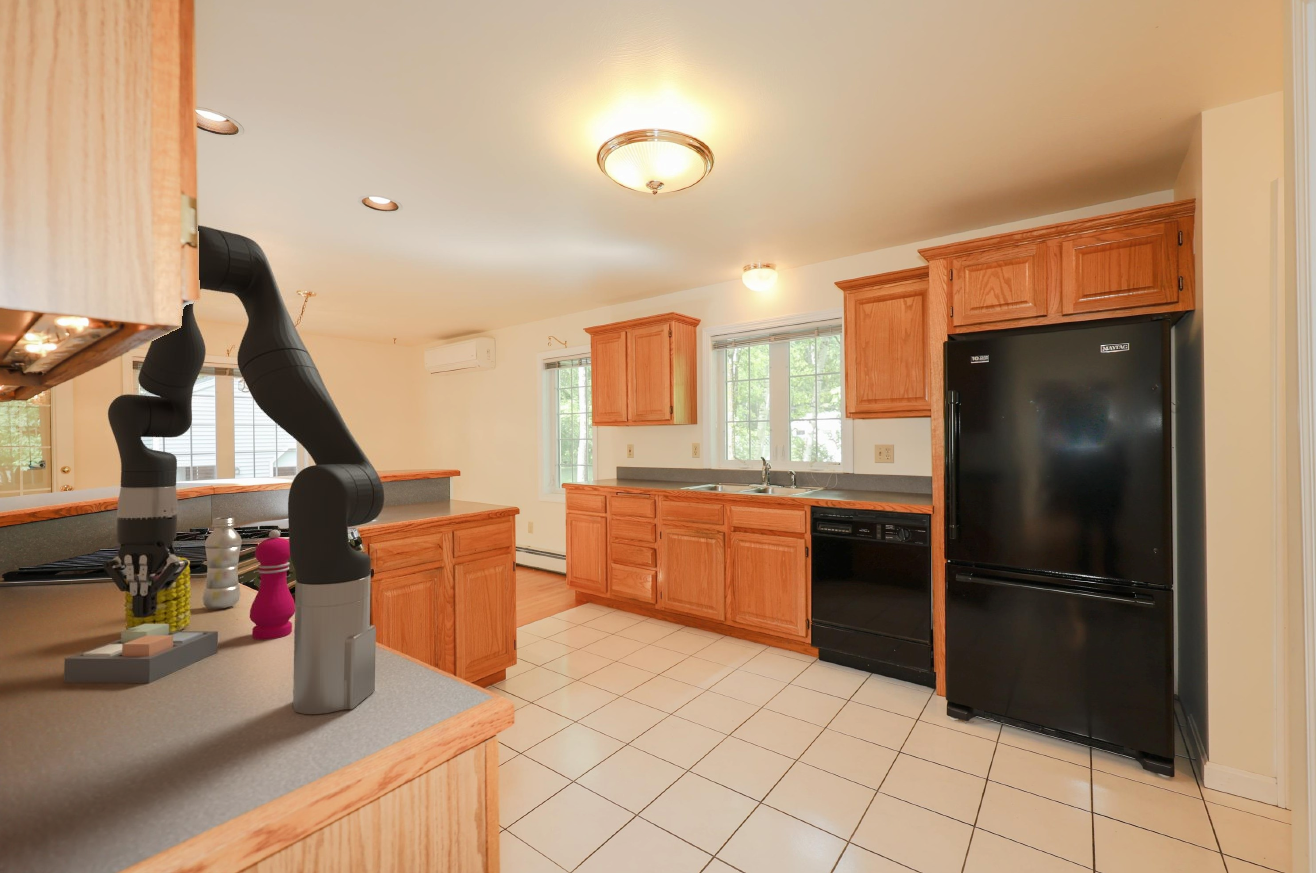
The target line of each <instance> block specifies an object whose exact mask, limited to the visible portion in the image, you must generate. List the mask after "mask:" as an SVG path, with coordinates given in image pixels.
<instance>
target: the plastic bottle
mask: <svg viewBox="0 0 1316 873" xmlns="http://www.w3.org/2000/svg"><path fill="white" fill-rule="evenodd" d="M212 521H213V523H212V527H213V528H214V529H213V531H211V533H210V534H209V535H208V537H206V540H205V542H204V547H205V554H206V566H207V568H206V569H207V572H206V573H207V575H206V580H205V588H204V590H203V595H202V602H203V603H202V604H203V605H204V607H205V608H206V609H212V610H213V609H217V610H221V609H225V608H228V607H229V608H230V607H232V606H235V605H236V604H237V603H238V602H239V601H240V598H241V597H240V596H241V590H240V589H241V588H240V585H239V574H238V573H239V572H238V571H239V569H238V568H239V565H238V564H239V560H240V559H239V558H240V553H241V549H242V542H243V539H242V536H241V535H240V534H239V532H238V531H236V529H234V527H235V526H236V523H235V517H216V518H213V520H212Z"/></svg>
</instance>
